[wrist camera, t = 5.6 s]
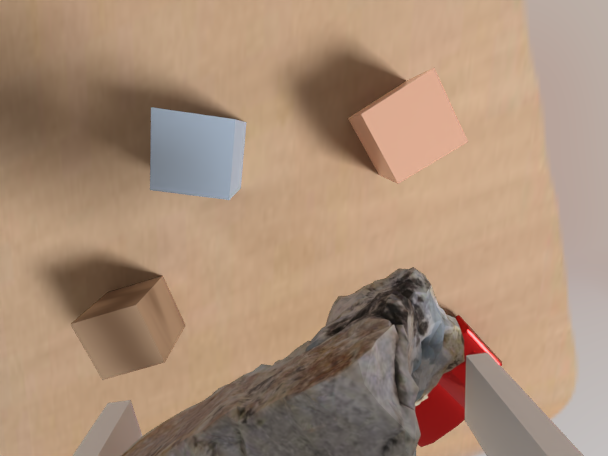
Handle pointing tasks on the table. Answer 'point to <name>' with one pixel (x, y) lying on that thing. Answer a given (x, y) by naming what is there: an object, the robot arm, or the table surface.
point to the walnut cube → (130, 328)
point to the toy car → (449, 393)
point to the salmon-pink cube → (409, 127)
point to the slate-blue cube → (196, 154)
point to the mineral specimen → (330, 384)
